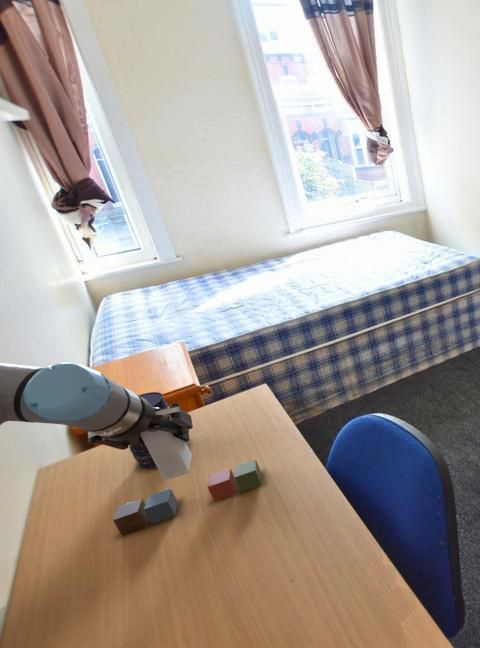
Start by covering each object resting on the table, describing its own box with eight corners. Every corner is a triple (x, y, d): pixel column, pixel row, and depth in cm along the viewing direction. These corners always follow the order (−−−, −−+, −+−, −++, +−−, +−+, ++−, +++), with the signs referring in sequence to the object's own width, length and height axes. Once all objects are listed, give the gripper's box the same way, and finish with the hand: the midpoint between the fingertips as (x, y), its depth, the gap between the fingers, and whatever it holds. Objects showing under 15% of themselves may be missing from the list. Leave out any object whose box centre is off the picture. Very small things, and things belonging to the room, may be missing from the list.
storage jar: (172, 438, 119) (148, 388, 114) (195, 446, 115) (172, 395, 109) (129, 463, 111) (102, 412, 105) (152, 474, 107) (125, 421, 101)
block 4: (240, 492, 99) (234, 477, 97) (241, 480, 102) (235, 466, 101) (261, 484, 101) (255, 470, 99) (261, 473, 104) (255, 459, 102)
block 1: (121, 535, 91) (112, 520, 90) (126, 521, 95) (118, 506, 93) (145, 526, 93) (137, 511, 91) (150, 512, 96) (142, 498, 94)
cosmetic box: (168, 463, 95) (144, 415, 90) (192, 455, 97) (170, 408, 92) (163, 482, 90) (137, 432, 85) (188, 473, 92) (165, 424, 87)
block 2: (151, 524, 93) (143, 509, 91) (155, 510, 96) (147, 496, 95) (175, 515, 95) (167, 501, 93) (178, 502, 98) (170, 488, 96)
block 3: (214, 501, 97) (207, 487, 96) (215, 489, 101) (209, 475, 99) (235, 494, 99) (229, 479, 97) (236, 482, 102) (230, 467, 100)
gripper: (48, 456, 70) (124, 473, 91) (181, 416, 77) (223, 441, 97) (45, 409, 73) (119, 436, 93) (174, 375, 79) (217, 407, 99)
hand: (172, 439), depth 95 cm, fingers closed on cosmetic box, 4 cm apart
